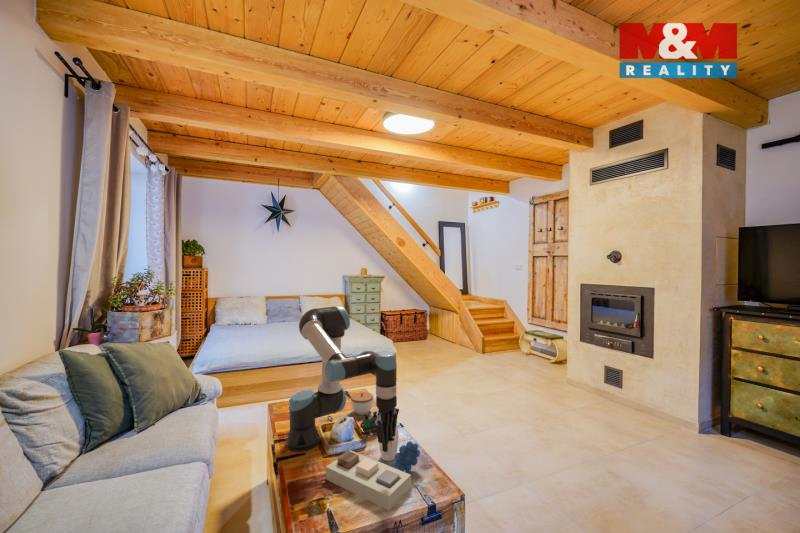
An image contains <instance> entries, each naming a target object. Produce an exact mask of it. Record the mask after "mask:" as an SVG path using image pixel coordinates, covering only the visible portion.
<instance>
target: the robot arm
mask: <svg viewBox="0 0 800 533" xmlns="http://www.w3.org/2000/svg"><path fill="white" fill-rule="evenodd" d="M350 325H351V321H350V316H349V313H348V310H347V309H346V308H345V307H343V306H341V305H337V306H336V305H335V306H328V307H318V308H311V309H309V310H307V311H306V312H305V313H303V315H302V316H301V318H300V320H299V323H298V329H299V333H300V335H301V336H302V338H304V340H307V341H309V344H311V346H312V347H313V348H314V350H315V351H316V353H317V354H318V355H319V357H320V359H321V360H322V361H321V383H320V384H318V386H317V391H316V392H315V391H313V390H312V389H311V390H310V389H308V390H300V391H299V392H297V393H295V394H292V395H291V397H290V399H289V403H288V404H289V405H288V410H289V411H288V414H289V431H288V435H287V438H286V441H285V442H286V444H285V445H286V449H288V450H289V451H292V452H305V451H308V450H312V449H313V448H315V447H317V446H318V445H319V444H320V434H319V431H318V428H317V426H316V419H318V418H321V417H325V416H327V415H328V416H329V415H332V414H336V413H339V412H342V410H343V409H344V408H345V406H346V404H347V403H346V402H347V395H346V394H347V393H346V390H345V388H344V387H343V386H342V384H341V383H340V382H341V381H344V380H347V379H351V378H355V377H360V376H363V375H368V374H371V375H373V376H375V395H376V397H375V398H376V399H375V401H376V402H375V405H376V407H377V409H378V411H377V416H378V418H377V419H374V421H373V422H374V424H375V427H376V432H377V435H376V436H377V441H378V443H379V442H380V443H382V450H383V458H384V459H386V460H390V459H391V446H392V443H391V441H394V438H393V436H395V433H396V427H397V422H398V415H399V413H400V409H399V408H396V407H397V405H398V404H397V400H398V398H397V366H398V364H397V355H396V354H395V352H389V351H380V352H377V353H376V352H375V351H372V350H363V351H362V352H361V353H360V354H357V355H353V356H348V357H347V356H346V355H345V354H344V352H343V351H342V350H341V349H342V338H343V337H344V336H345V335H346V334H345V333H346V331H347V330H348V329H349V328H350ZM386 460H385V461H386Z"/></svg>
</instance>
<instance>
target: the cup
mask: <svg viewBox="0 0 800 533" xmlns="http://www.w3.org/2000/svg"><path fill="white" fill-rule="evenodd" d="M399 436H400V435H399V427H397V426H396V433H395V436H393V438H394V441H391V443H392V446H391V459H390V460H386V459H384V458H383V450H382V443H380V442H378V445H379V446H378V447H379V451H380V458H381V459H382V460H384V461H388V462H390V461H395V455H396V454H397V453H398V446H399Z"/></svg>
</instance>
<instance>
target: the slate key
mask: <svg viewBox="0 0 800 533" xmlns="http://www.w3.org/2000/svg"><path fill="white" fill-rule="evenodd" d="M399 480H400V477H399V474H396V473H394V472H391V471H389V470H385V471H384V472H383V473H382V474H381V475H379V476H378V477H377V483H379V484H382V485H384V486H386V487H388V488H391V487H392V486H393V485H394V484H395V483H397V482H398V481H399Z"/></svg>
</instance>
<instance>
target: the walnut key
mask: <svg viewBox="0 0 800 533" xmlns="http://www.w3.org/2000/svg"><path fill="white" fill-rule="evenodd" d="M353 452H354V451H353ZM353 452H350V450H347V451H345V452H343V453H342V454H341V455H339V456H338V457H337V459H338V465H339V466H341V467H344V468H346V469H348V470H349V469H350V468H352V467H353V466H355V465H356V464H357V463H359V455H358V454H359V453H358V454H355V453H353Z"/></svg>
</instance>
